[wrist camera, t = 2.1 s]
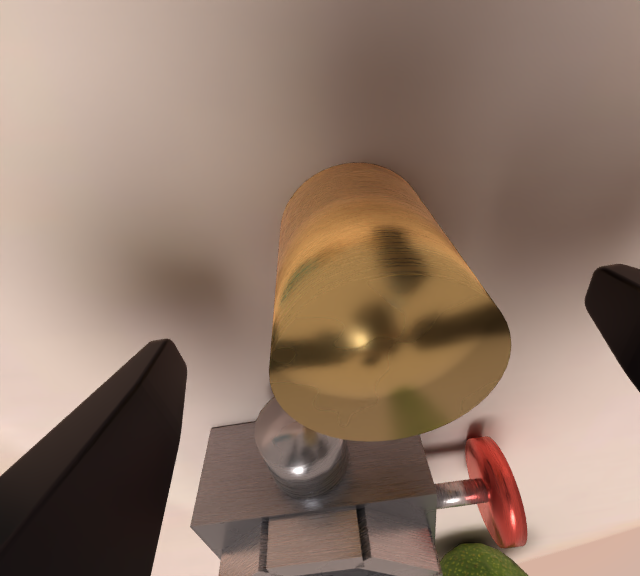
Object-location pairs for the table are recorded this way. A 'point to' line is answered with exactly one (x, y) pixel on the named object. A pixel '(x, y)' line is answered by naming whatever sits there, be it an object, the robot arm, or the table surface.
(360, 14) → the table surface
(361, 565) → the valve
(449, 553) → the avocado
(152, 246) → the table surface
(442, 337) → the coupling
